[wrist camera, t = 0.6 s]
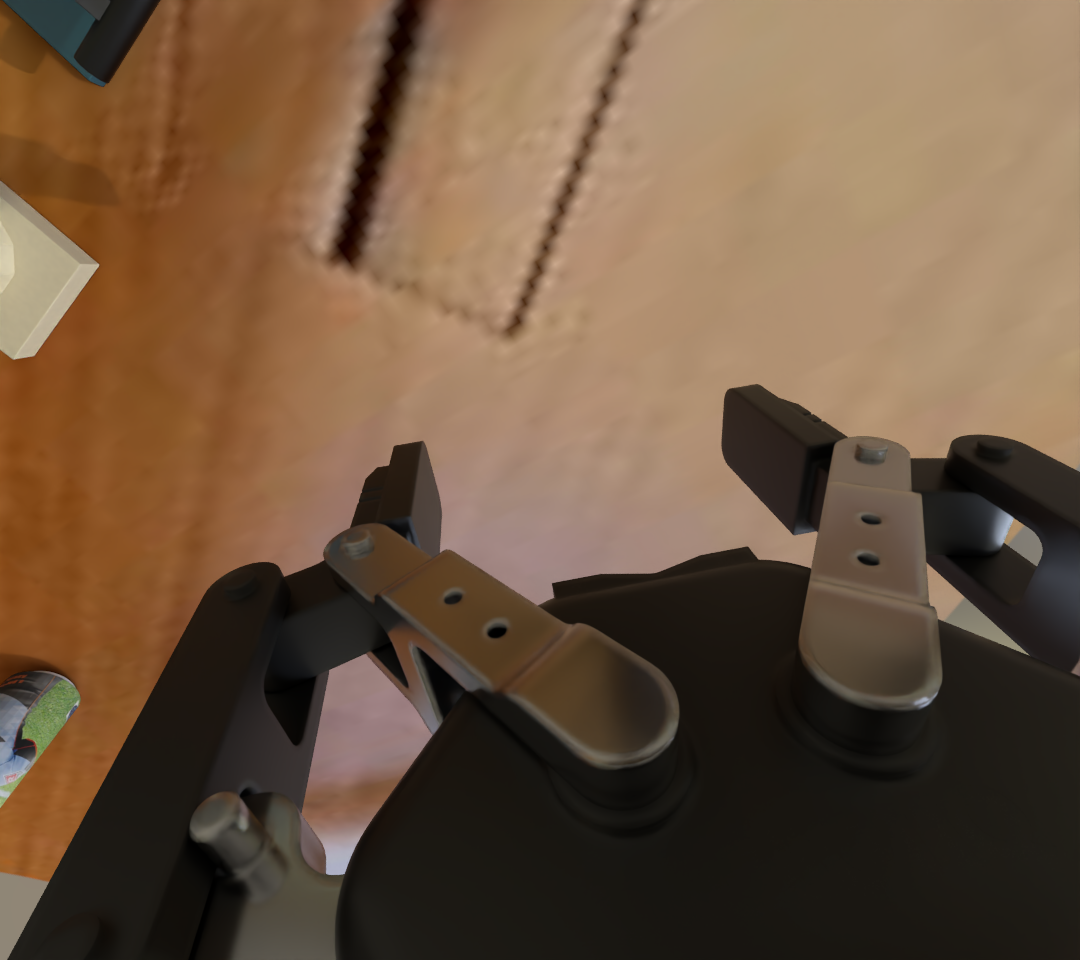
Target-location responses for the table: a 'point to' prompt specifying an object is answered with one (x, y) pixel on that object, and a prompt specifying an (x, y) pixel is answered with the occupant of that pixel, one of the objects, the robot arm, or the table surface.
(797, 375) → the table surface
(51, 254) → the button block
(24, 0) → the bracket
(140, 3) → the lever
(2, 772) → the beverage can
